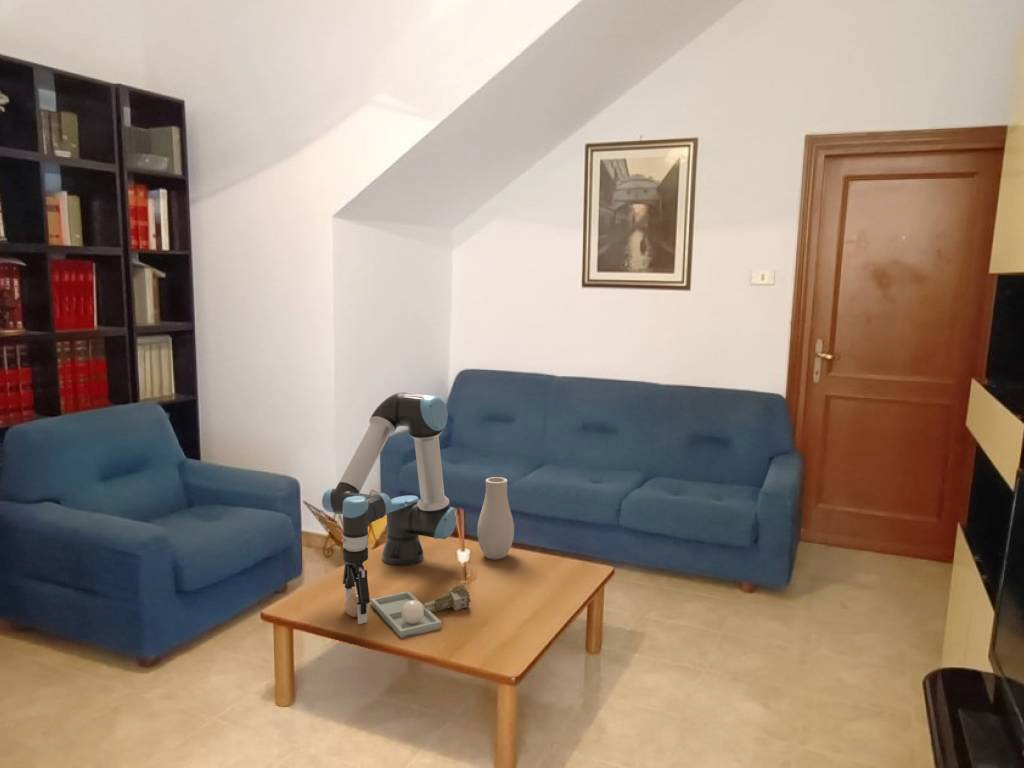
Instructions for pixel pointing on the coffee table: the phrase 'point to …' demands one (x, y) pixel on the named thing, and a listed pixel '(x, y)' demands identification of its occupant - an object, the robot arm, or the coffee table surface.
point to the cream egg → (412, 611)
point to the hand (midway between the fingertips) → (356, 615)
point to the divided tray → (391, 614)
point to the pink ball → (352, 605)
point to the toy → (451, 600)
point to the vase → (495, 520)
